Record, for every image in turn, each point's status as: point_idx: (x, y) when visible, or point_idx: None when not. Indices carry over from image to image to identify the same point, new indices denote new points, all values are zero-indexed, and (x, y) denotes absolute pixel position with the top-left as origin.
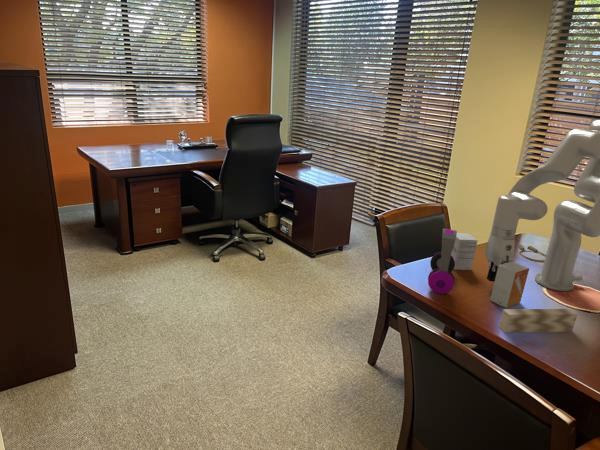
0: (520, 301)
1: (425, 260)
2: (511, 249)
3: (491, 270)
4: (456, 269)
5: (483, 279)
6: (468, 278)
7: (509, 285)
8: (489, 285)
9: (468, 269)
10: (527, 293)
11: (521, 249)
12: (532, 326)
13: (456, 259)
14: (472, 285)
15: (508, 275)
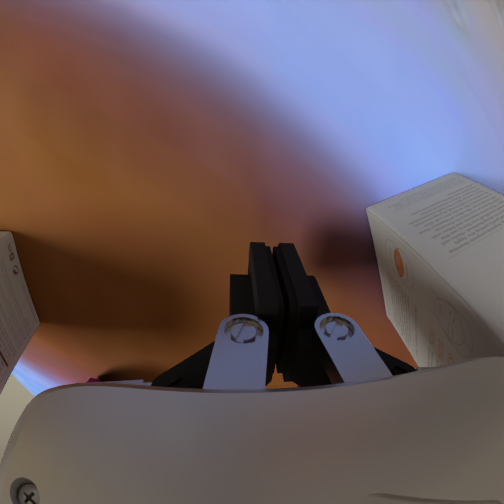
0: (459, 175)
1: (11, 372)
2: None
3: (287, 375)
4: (35, 311)
5: (122, 217)
6: (124, 306)
7: None
8: (218, 223)
9: (14, 250)
10: (361, 16)
11: None
12: None
13: (14, 363)
14: (218, 327)
15: None
